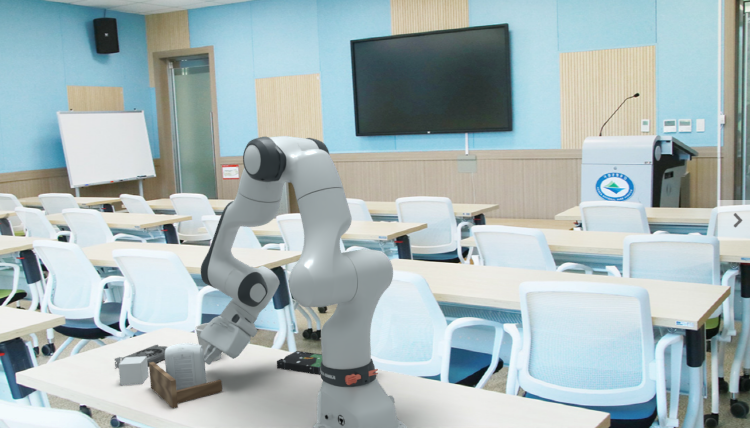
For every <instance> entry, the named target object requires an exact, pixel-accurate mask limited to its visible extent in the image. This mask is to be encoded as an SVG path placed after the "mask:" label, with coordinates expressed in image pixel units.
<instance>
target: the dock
mask: <svg viewBox="0 0 750 428" xmlns="http://www.w3.org/2000/svg"><path fill="white" fill-rule="evenodd" d="M148 371H149V381H150V388H151V390H152V391H154V392H155V393H156V394H157V395H158V396H159V397H160V398H161V399H162V400H163V401H164V402H165V403H167V404H168V405H169V406H170V407H171V408H172V409H175V408H176V409H177V408H178V407H179V405H178V404H181V403H186V402H190V401H192V400H198V399H201V398H203V397H204V398H205V397H208V396H212V395H215V394H219V393H223V381H222V380H221V379H217V380H213V381H209V382H206V383H204V384H200V385H196V386H192V387H188V388H184V389H180V390H176V380H175V379H174V378H173V377H172V376H170V375H169V374H168V373H167V372H166V370H164V369H163V368H162V367H161V366H159V365H158V364H157V363H154V362H151V363H149V367H148Z"/></svg>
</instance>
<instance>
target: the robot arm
mask: <svg viewBox="0 0 750 428" xmlns="http://www.w3.org/2000/svg"><path fill="white" fill-rule="evenodd" d="M242 164H243V170H242V173H241V176H240V180H239V184H238V188H237V193H236V195H235V198H234V200H232V201H229V202H228V203H227V205H225V207H224V209H223V210H222V213H221V215H220V217H219V219H218V223H217V227H216V228H215V231H214V235H213V238H212V240H211V243H210V247H209V249H208V252H207V254H206V255H205V256H204V259H203V261H202V263H201V265H200V276H201V280H202V282H203V283H204V284H205V285H206V286H207V285H208V286H210V287H211V288H213V289H216V290H218V291H220V292H221V293H222V294H225V295H226V296H228V297H230V298H232V299H231V300H230V301H229V303H228V304H227V305H226V306H225V308H224V309H223V310H222V312H221V313H220V314H219V315H217V316H214V317H213V318H212V319H211V320H210V321H209V322H207V323H208V325H207V326H206V327H205V328H204V329H203V331H202V332H201V334H200V338H201V339H202V340H204V341H205V342H207V343H208V344H209V345H208V346H207V348H206V350H205V354H204V360H205V364H206V365H211V364H212V362H214V361H213V360H214V359H216V358H217V357H218V356H220V354H221V355H222V353H223V354H225V355H226V356H228V357H229V358H231V359H236V358H237V357H239V356H240V355H241V354H242V352H243V351H244V350H245V348H246V347H247V346H248V345H249V343H250V341H251V339H252V338H254V337H256V335H257V333H258V329H257V327H256V325H255V323H256V321H257V320H258V317H259V314H260V313H261V312H262V311H263V310H265V308H267V306H268V305H269V303H270V302H271V300H272V299H273V297H274V296H275V294H276V293H277V290H278V288H279V285H280V280H279V277H278V275H277V274H276V273H275V272H274V271H273V270H272V269H271V268H269V267H267V266H264V265H261V266H259V267H253V266H250V265H249V264H246V263H244V262H242V261H241V260H239V259H238V258H235V256H234V254H233V253H232V248H233V245H234V242H235V240H236V238H237V237H236V236H237V234H238V231H239V229H240V227H246V228H247V227H248V228H253V227H261V226H264V225H268V224H269V223H270V222H272V221H273V220H274V219H275V218H276V216H277V214H278V211H279V209H280V204H281V199H282V194H283V190H284V189H283V188H284V186H285V183H291V184H292V186H293V189H294V190H293V191H294V194H295V198H296V203H297V206H298V210H299V214H300V220H301V223H302V229H303V237H304V238H303V246H302V252H301V254H300V257H299V259H298V260H297V262H296V263H295V264H294V266H293V267H292V269H291V271H290V274H289V279H288V287H289V292H290V294H291V296H292V298H293V299H294V301H295V302H296V303H297V304H299V305H300V306H302V307H305V308H324V307H329V306H333V305H336V308H335V310H334V312H333V314H332V315H331V316H330V317H329V318H328V319H327V320H326V321H325V322H324V324H323V325H322V328H321V330H320V342H321V343H320V344H321V354H322V362H321V367H320V372H321V374H320V379H321V380H322V383H321V386H320V389H319V391H318V393H317V403H316V404H317V407H316V423H314V425H312V428H409V427H408V426H407V425H406V424H405V423H404V422H402V421H401V420H400V419H398V415H397V408H396V405H395V398H394V396H393V395H388V393H387V392H386V391H385V389H384V388H383V386H382V385H381V383H380V382H379V381H378V379H377V375H378V374H379V373H378V372H377V371H378V368H376V367H375V364H374V361H373V359H372V358H371V357H372V354H371V350H372V349H371V350H370V346H371V330H372V329H371V328H372V322H373V317H374V315H375V311H376V308H377V305H378V303H379V301H380V299H381V298H382V296H383V294H384V293H385V292H386V291H387V290H388V288H389V287H390V286H391V284H392V282H393V277H394V268H393V264H392V262H391V260H390V258H389V257H388V255H387V254H386V253H385V252H383V251H381V250H377V249H376V250H375V249H366V248H365V249H364V248H363V249H357V250H356V249H355V250H349V251H345V252H342V251H341V237H342V236H343V235H344V234H346V232H347V231H348V230H349V229H350V228H351V224H352V214H351V210H350V207H349V203H348V200H347V197H346V193H345V192H346V191H345V189H344V186H343V183H342V179H341V177H340V174H339V171H338V170H337V169H338V168H337V167H336V164H335V163H334V161H333V159H332V157H331V155H330V151H329V148H328V147H327V145H326V144H325V143H324V142H323V141H321V140H319V139H317V138H312V137H307V138H305V137H297V136H289V135H279V136H269V137H268V136H262V137H256V138H252V139H251V140H250V141H248V142H247V143H246V146H245V148H244V150H243V156H242Z"/></svg>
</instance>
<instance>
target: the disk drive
mask: <svg viewBox="0 0 750 428" xmlns="http://www.w3.org/2000/svg"><path fill="white" fill-rule="evenodd" d="M321 362H322V353H316V352H315V353H314V352H308V351H302V350H301V351H300V350H296V351H294V352H292V353H290V354H287V355H286V356H284V358H279V359H278V360H276V368H277V369H280V370H283V371H284V370H287V371H292V372H300V373H306V374H310V375H318V376H321V372H320V367H321Z"/></svg>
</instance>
